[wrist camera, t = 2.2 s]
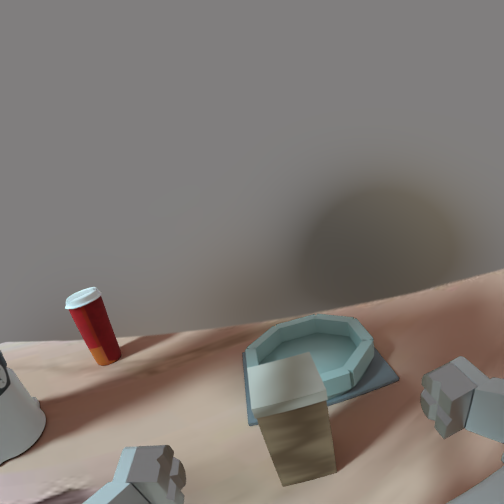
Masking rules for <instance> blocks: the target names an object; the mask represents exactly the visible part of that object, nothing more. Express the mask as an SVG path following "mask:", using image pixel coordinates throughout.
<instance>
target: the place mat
mask: <svg viewBox="0 0 504 504" xmlns="http://www.w3.org/2000/svg"><path fill="white" fill-rule="evenodd" d="M242 354H243V367H244V379H245V391H246V402H247V414H248V424H249V426H252V425H257V424H258V421H257V418H256V419H255V418H254V415H253V412H252V410H251V401H250V392H249V382H248V372H247V362H246V352H243V353H242ZM398 380H399V377H398V376H397V375H396V373H395V372H394V371H393V370H392V368H391V367H390V366H389V365H388V363H387V362H386V361H385V360H384V358H383V357H382V356H381V355H380V354H379V352H378V351H377V350H376V349H375V347H374V357H373V359H372V360H371V362H370V364H369V365H368V367H367V370H366V372H365V374H364V376H363V377H362V379H361V380H360V381H359V382H358V383H357V384H356V385H355V386H354V387H353V388H352V389H350V390H349V391H348V392H346V393H344V394H343V395H341V396H339V397H337V398H334V399H332V400H329V401H326V402H327V406H329V405H332V404H336V403H339V402H342V401H345V400H348V399H351V398H354V397H356V396H359V395H362V394H365V393H368V392H370V391H373V390H376V389H378V388H381V387H383V386H386V385H388V384H391V383H393V382H396V381H398Z"/></svg>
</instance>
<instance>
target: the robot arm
mask: <svg viewBox="0 0 504 504" xmlns="http://www.w3.org/2000/svg"><path fill="white" fill-rule="evenodd" d="M6 366H7V363H6V361H5V359H4V357H3V354H2V352H1V351H0V464H1V463H2V462H4V461H6V460H8V459H10V458H13V457H15V456H18V455H19V454H21V453H23V452H24V451H26V450H27V449H28V448H29V447H31V446H32V445H33V444H34V443H35V442H36V440H37V439H38V438H39V436H40V435H41V433H42V432H43V429H44V427H45V423H46V417H45V414H44V412H43V411H42V410H41V409H40V404H39V401H38V400H37V398H36V397H31V395H30V394H29V392H28V391H27V390H26V388H25V387H24V385H23V384H22V383H21V381H20V380H19V378H18V377H17V375H16V374H15V373H14V371H13V370H12V369H10V368H7V367H6ZM422 386H423V387H424V390H423V392H422V393H421V400H420V402H421V406H422V410H423V412H424V414H425V415H426V417H427V418H428V419H430V420H434V421H435V429H436V430H437V431H438V432H439V434H440V435H441V436H442V438H443V439H446V438H448V437H449V436H451V435H453V434H455V433H457V432H459V431H460V430H462V429H464V428H465V429H466V430H468V431H471V432H473V433H476V434H479V435H481V436H484V437H487V438H489V439H492V440H495V441H498V442H500V443H503V444H504V379H501V378H495V377H493V378H491V379H489V378H488V377H487V376H486V375H485V374H483V373H482V372H481V371H480V370H479V369H478V368H476V367H475V366H474V365H473V364H472V363H471V362H469V361H468V360H467V359H466V358H465V357H462V356H459V357H458V358H456V359H454V360H452V361H450V362H449V363H446V364H444V365H443V366H441V367H439V368H437V369H435V370H433V371H431V372H429V373H427V374H424V375H423V378H422ZM173 455H174V451H173V450H172V448H171V447H170V446H169V445H159V446H139V447H125V448H124V449H123V451H122V454H121V457H120V460H119V463H118V466H117V469H116V472H115V475H114V478H113V481H112V482H108V483H107V484H106V485H105V486H103V487H102V488H101V489H100V490H99V491H97V492H96V493H95V494H94V495H93V496H91V497H90V498H89V499H88V500H86V501H85V502H84V503H83V504H184V496H185V495H184V494H183V493H182V492H181V490H182V488H183V487H184V486H185V485H186V474H185V469H184V467H183V464H182V463H181V461H180V460H178V459H176V458H175V457H173ZM501 461H502V462H503V463H504V453H503V455H502V458H501ZM446 504H504V466H503V467H501V468H500V469H499V470H497V471H496V472H495V473H493V474H492V475H490V476H489V477H487V478H486V479H485V480H483V481H482V482H480V483H479V484H477V485H476V486H474V487H472V488H471V489H469V490H468V491H466V492H465V493H463V494H461V495H460V496H458V497H456V498H455V499H453V500H451V501H449V502H448V503H446Z"/></svg>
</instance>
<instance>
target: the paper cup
mask: <svg viewBox="0 0 504 504" xmlns="http://www.w3.org/2000/svg"><path fill="white" fill-rule="evenodd" d="M101 295H102V293H101V292H100V291H99V290H98V289H97V288H96V287H90V288H87V289H84V290H81V291H79V292H77V293H74V294H73V295H71V296H69V297H68V298H67V299H66V304H67V305H66V307H65V308H66V309H69V311H70V313H71V315H72V318H73V319H74V322H75V324H76V326H77V327H78V329H79V331H80V333H81V335H82V337H83V339H84V341H85V343H86V344H87V346H88V348H89V350H90V352H91V353H92V355H93V357H94V359H95V360H96V362H97V363H98V364H99V365H101V366H104V365H109V364H112V363H114V362H115V361H117V360H118V359H119V358H120V357H121V350H120V348H119V345H118V342H117V340H116V337H115V334H114V332H113V329H112V326H111V324H110V321H109V318H108V315H107V312H106V309H105V306H104V303H103V300H102V298H101Z"/></svg>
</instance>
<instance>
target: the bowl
mask: <svg viewBox="0 0 504 504" xmlns="http://www.w3.org/2000/svg"><path fill="white" fill-rule="evenodd" d="M245 352H246V362H247V368H249V367H253V366H257V365H261V364H265V363H269V362H273V361H277V360H281V359H284V358H288V357H292V356H295V355H299V354H303V353H306V352H310V354H311V357H312V359H313V361H314V363H315V365H316V368H317V370H318V372H319V374H320V377H321V379H322V381H323V383H324V386H325V388H326V391H327V397H328V400H326V401H329V400H332V399H334V398H337V397H339V396H341V395H343V394H344V393H346V392H348V391H349V390H350V389H352V388H353V387H354V386H355V385H356V384H357V383H358V382H359V381H360V380H361V379H362V377H363V376H364V374H365V372H366V370H367V367H368V365H369V364H370V362H371V360H372V359H373V357H374V343H373V337H372V336H371V335H370V334H369V333H368V331H367V330H366V329H365V328H364V327H363V326H362V324H361V323H360V322H359V321H358V320H357V319H356V318H355V319H354V317H346V316H335V315H325V314H317V315H316V316H315V314H313V315H309V316H306V317H302V318H299V319H295V320H291V321H288V322H284V323H280V324H277V325H276V327H275V326H272V327H271V328H270V329H269V330H268V331H266V332H265V333H264V334H263V335H261V336H260V337H259V338H258V339H256V340H255V341H254V342H253V343H252V344H250V345H249V346H248V347H247V349H246V350H245Z"/></svg>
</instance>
